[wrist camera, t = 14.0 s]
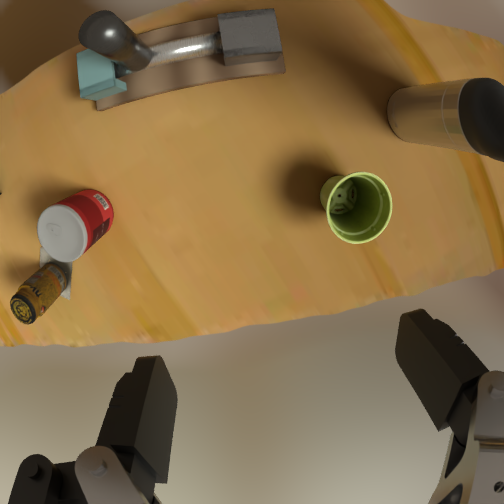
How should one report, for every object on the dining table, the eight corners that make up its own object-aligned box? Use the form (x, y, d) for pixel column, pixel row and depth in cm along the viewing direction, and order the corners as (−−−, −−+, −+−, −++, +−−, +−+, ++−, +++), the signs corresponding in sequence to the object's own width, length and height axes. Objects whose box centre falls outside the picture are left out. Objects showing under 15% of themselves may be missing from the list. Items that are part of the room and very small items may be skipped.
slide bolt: (235, 31, 33) (238, -23, 18) (239, 55, 34) (244, 11, 19) (97, 65, 32) (36, 40, 18) (100, 89, 34) (37, 74, 19)
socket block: (122, 49, 32) (109, 40, 28) (126, 90, 35) (114, 85, 30) (91, 60, 32) (76, 53, 28) (96, 100, 35) (80, 97, 30)
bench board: (273, 14, 33) (274, 11, 32) (283, 73, 37) (285, 71, 36) (94, 53, 33) (90, 51, 32) (101, 111, 37) (97, 110, 36)
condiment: (39, 285, 47) (7, 319, 36) (41, 246, 44) (3, 275, 33) (70, 299, 48) (41, 336, 37) (73, 259, 45) (39, 293, 34)
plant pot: (364, 161, 43) (391, 169, 34) (367, 220, 46) (392, 238, 38) (306, 167, 42) (323, 175, 34) (312, 228, 46) (329, 249, 38)
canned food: (73, 185, 41) (35, 202, 31) (117, 191, 42) (86, 209, 32) (72, 231, 43) (38, 257, 33) (114, 238, 44) (85, 267, 34)
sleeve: (269, 21, 33) (274, 8, 28) (276, 60, 35) (282, 51, 30) (218, 27, 32) (217, 14, 28) (225, 66, 35) (224, 57, 30)
